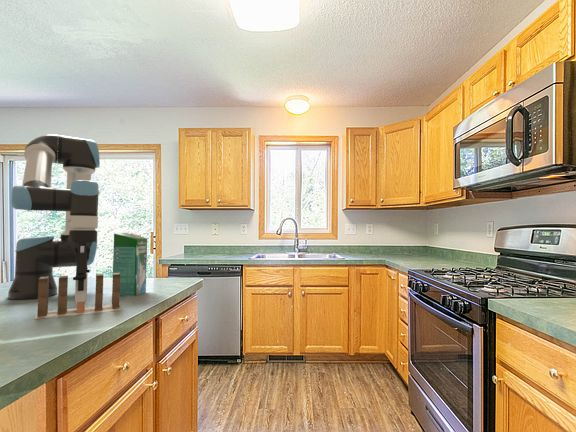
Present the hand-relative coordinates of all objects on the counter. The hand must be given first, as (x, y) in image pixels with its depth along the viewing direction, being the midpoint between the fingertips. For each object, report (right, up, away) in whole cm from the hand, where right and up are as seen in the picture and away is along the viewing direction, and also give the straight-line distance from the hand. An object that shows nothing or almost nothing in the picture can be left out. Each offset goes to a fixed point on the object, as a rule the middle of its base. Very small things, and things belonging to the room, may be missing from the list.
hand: (81, 297), depth 101 cm
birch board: (0, -5, 0) cm, 5 cm away
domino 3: (+4, -4, +2) cm, 6 cm away
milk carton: (+2, -6, +27) cm, 28 cm away
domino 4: (+8, -4, +5) cm, 10 cm away
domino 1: (-8, -4, -5) cm, 10 cm away
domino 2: (-4, -4, -3) cm, 6 cm away
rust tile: (0, -4, 0) cm, 4 cm away
